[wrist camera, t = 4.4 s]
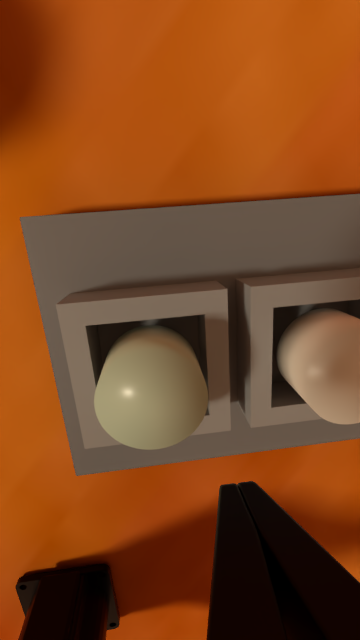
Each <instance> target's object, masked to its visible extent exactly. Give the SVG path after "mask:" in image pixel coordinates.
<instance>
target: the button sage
mask: <svg viewBox="0 0 360 640" xmlns="http://www.w3.org/2000/svg"><path fill="white" fill-rule="evenodd" d="M207 406H208V389H207V386H206V382H205V379H204V377H203V374H202V371H201V369H200V366H199V363H198V361H197V358H196V355H195V353H194V350H193V348H192V347H191V345H190V343H189V342H188V341H187V340H186V339H185V338H184V337H183V336H182V335H181V334H179V333H178V332H176V331H174V330H172V329H170V328H167V327H163V326H157V325H146V326H140V327H137V328H134V329H132V330H129V331H128V332H126V333H124V334H123V335H122V336H120V337H119V338H118V339H117V340H116V341H115V342H114V344H113V345H112V346H111V348H110V350H109V352H108V355H107V357H106V360H105V363H104V366H103V369H102V372H101V375H100V378H99V381H98V384H97V387H96V390H95V395H94V407H95V412H96V416H97V418H98V420H99V422H100V424H101V426H102V427H103V429H104V430H105V431H106V432H107V433H108V434H109V435H110V436H111V437H112V438H114V439H115V440H117V441H118V442H120V443H122V444H124V445H127V446H129V447H133V448H137V449H144V450H154V449H161V448H166V447H169V446H172V445H175V444H177V443H179V442H181V441H183V440H184V439H186V438H187V437H188V436H190V435H191V434H192V433H193V432H194V431H195V430H196V429H197V428H198V426H199V425H200V423H201V422H202V420H203V418H204V416H205V414H206V410H207Z"/></svg>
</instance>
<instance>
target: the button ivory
mask: <svg viewBox="0 0 360 640" xmlns="http://www.w3.org/2000/svg"><path fill="white" fill-rule="evenodd" d="M276 361H277V366H278V369H279V371H280V373H281V375H282V376H283V377H284V379H285V380H286V381H287V382H288V383H289V384H290V385H291V386H292V387H293V389H294V390H295V391H296V392H297V393H298V394H299V395H300V396H301V397H302V398H303V399H304V401H305V402H306V403H307V404H308V405H309V406H310V407H311V408H312V409H313V410H314V412H315V413H317V414H318V415H319V416H320V417H321V418H323V419H325V420H327V421H329V422H332V423H336V424H355V423H360V319H358V318H356V317H354V316H351V315H349V314H347V313H344V312H342V311H339V310H336V309H332V308H320V309H315V310H311V311H309V312H306V313H304V314H302V315H301V316H299V317H298V318H296V319H295V320H294V321H293V322H292V323H291V324H290V325H289V326H288V327H287V328H286V329H285V331H284V332H283V334H282V336H281V338H280V340H279V343H278V346H277V352H276Z"/></svg>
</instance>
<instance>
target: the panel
mask: <svg viewBox="0 0 360 640" xmlns="http://www.w3.org/2000/svg"><path fill="white" fill-rule="evenodd" d="M20 221H21V225H22V230H23V235H24V239H25V244H26V248H27V253H28V258H29V262H30V267H31V271H32V276H33V280H34V285H35V290H36V294H37V299H38V303H39V308H40V312H41V317H42V322H43V326H44V331H45V335H46V340H47V344H48V349H49V354H50V358H51V363H52V367H53V372H54V377H55V381H56V386H57V390H58V395H59V399H60V404H61V409H62V413H63V418H64V422H65V427H66V431H67V436H68V441H69V445H70V450H71V454H72V459H73V463H74V468H75V473H76V476H79V475H86V474H94V473H101V472H109V471H116V470H124V469H131V468H139V467H147V466H154V465H162V464H169V463H177V462H184V461H192V460H199V459H207V458H214V457H222V456H229V455H237V454H244V453H252V452H259V451H267V450H274V449H282V448H289V447H297V446H304V445H312V444H320V443H327V442H335V441H342V440H350V439H357V438H360V423H355V424H336V423H332V422H329V421H327V420H325V419H323V418H321V417H320V416H319V415H318V414H317V413H315V412H314V410H313V409H312V408H311V407H310V406H309V405H308V404H307V403H306V402H305V401H304V399H303V398H302V397H301V396H300V395H299V394H298V393H297V392H296V391H295V390H294V389H293V387H292V386H291V385H290V384H289V383H288V382H287V381H286V380H285V379H284V377H283V376H282V375H281V373H280V371H279V369H278V366H277V361H276V352H277V346H278V343H279V340H280V338H281V336H282V334H283V332H284V331H285V329H286V328H287V327H288V326H289V325H290V324H291V323H292V322H293V321H294V320H295V319H296V318H298V317H299V316H301V315H302V314H304V313H306V312H309V311H311V310H315V309H320V308H332V309H336V310H339V311H342V312H344V313H347V314H349V315H351V316H354V317H356V318H358V319H360V194H349V195H335V196H320V197H306V198H291V199H277V200H263V201H248V202H234V203H219V204H205V205H190V206H176V207H161V208H147V209H132V210H118V211H104V212H89V213H75V214H60V215H46V216H31V217H20ZM146 325H157V326H163V327H167V328H170V329H172V330H174V331H176V332H178V333H179V334H181V335H182V336H183V337H184V338H185V339H186V340H187V341H188V342H189V343H190V345H191V347H192V348H193V350H194V353H195V355H196V358H197V361H198V363H199V366H200V369H201V371H202V374H203V377H204V379H205V382H206V386H207V389H208V406H207V410H206V414H205V416H204V418H203V420H202V422H201V423H200V425H199V426H198V428H197V429H196V430H195V431H194V432H193V433H192V434H191V435H190V436H188V437H187V438H186V439H184V440H183V441H181V442H179V443H177V444H175V445H172V446H169V447H166V448H161V449H154V450H144V449H137V448H133V447H129V446H127V445H124V444H122V443H120V442H118V441H117V440H115V439H114V438H112V437H111V436H110V435H109V434H108V433H107V432H106V431H105V430H104V429H103V427H102V426H101V424H100V422H99V420H98V418H97V416H96V412H95V407H94V395H95V390H96V387H97V384H98V381H99V378H100V375H101V372H102V369H103V366H104V363H105V360H106V357H107V355H108V352H109V350H110V348H111V346H112V345H113V344H114V342H115V341H116V340H117V339H118V338H119V337H120V336H122V335H123V334H124V333H126V332H128V331H129V330H132V329H134V328H137V327H140V326H146Z"/></svg>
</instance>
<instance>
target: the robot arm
mask: <svg viewBox="0 0 360 640" xmlns="http://www.w3.org/2000/svg"><path fill="white" fill-rule="evenodd" d="M16 591H17V594H18V597H19V600H20V602H21V605H22V608H23V611H24V614H25V620H24V623H23V627H22V630H21V633H20V636H19V639H18V640H106V632H107V630H110V629H115V628H117V627H118V626H119V620H120V616H119V611H118V606H117V601H116V596H115V591H114V586H113V581H112V576H111V571H110V567H109V566H108V565H107V564H99V565H92V566H86V567H80V568H73V569H67V570H60V571H54V572H47V573H41V574H34V575H28V576H23V577H20V578H19V579H18V582H17V584H16ZM207 640H360V583H359V582H358V581H357V580H356V579H355V578H354V577H353V576H352V575H351V574H350V573H349V572H348V571H347V570H346V569H345V568H344V567H343V566H342V565H341V564H340V563H339V562H338V561H337V560H335V559H334V558H333V557H332V556H331V555H330V554H329V553H328V552H327V551H326V550H325V549H324V548H323V547H322V546H321V545H320V544H319V543H318V542H317V541H316V540H315V539H314V538H313V537H312V536H310V535H309V534H308V533H307V532H306V531H305V530H304V529H303V528H302V527H301V526H300V525H299V524H298V523H297V522H296V521H295V520H294V519H293V518H292V517H291V516H290V515H289V514H288V513H287V512H285V511H284V510H283V509H282V508H281V507H280V506H279V505H278V504H277V503H276V502H275V501H274V500H273V499H272V498H271V497H270V496H269V495H268V494H267V493H266V492H265V491H264V490H263V489H262V488H260V487H259V486H258V485H257V484H256V483H255V482H253V481H249V482H241V483H238V484H237V485H236V484H234V483H233V484H225V485H221V486H220V489H219V501H218V512H217V524H216V536H215V547H214V559H213V571H212V582H211V594H210V605H209V617H208V629H207Z"/></svg>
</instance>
